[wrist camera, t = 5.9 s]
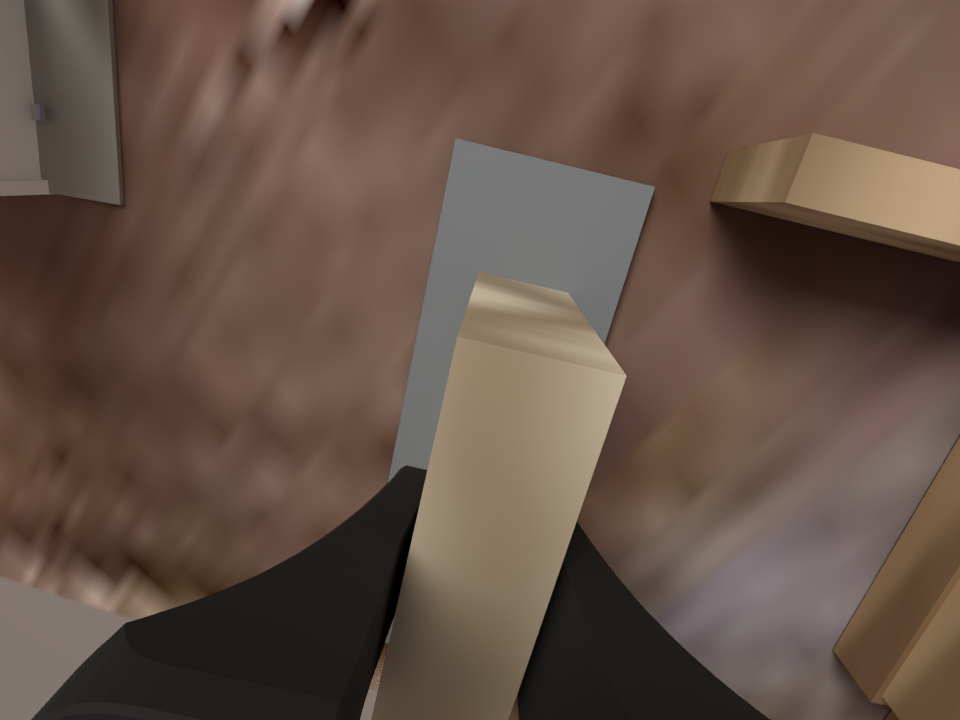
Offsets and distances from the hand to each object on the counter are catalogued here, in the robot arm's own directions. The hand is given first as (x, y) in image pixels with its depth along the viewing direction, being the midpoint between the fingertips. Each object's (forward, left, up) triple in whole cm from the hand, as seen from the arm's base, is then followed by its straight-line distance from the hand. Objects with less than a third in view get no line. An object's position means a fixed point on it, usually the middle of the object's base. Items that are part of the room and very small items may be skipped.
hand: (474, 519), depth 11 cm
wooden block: (0, 0, -3) cm, 3 cm away
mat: (0, 0, -4) cm, 4 cm away
